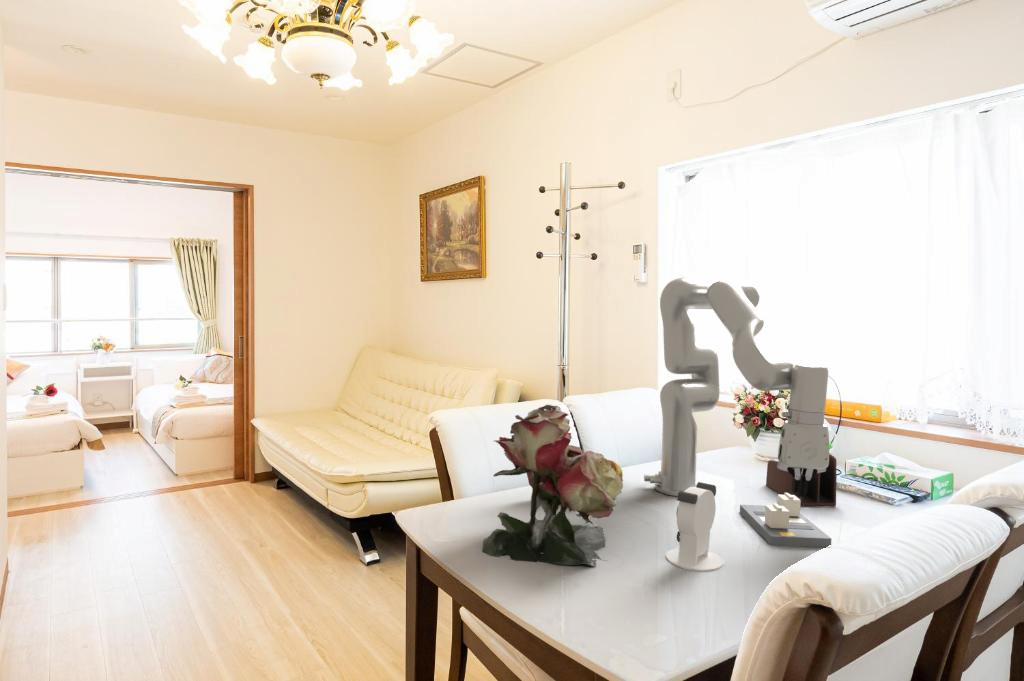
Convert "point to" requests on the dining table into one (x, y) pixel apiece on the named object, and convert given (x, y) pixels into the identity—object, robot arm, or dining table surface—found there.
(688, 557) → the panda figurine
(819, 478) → the letter holder
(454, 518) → the dining table surface
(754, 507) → the switch panel
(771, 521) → the switch tab
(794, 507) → the switch tab
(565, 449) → the rose bouquet
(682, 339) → the robot arm
